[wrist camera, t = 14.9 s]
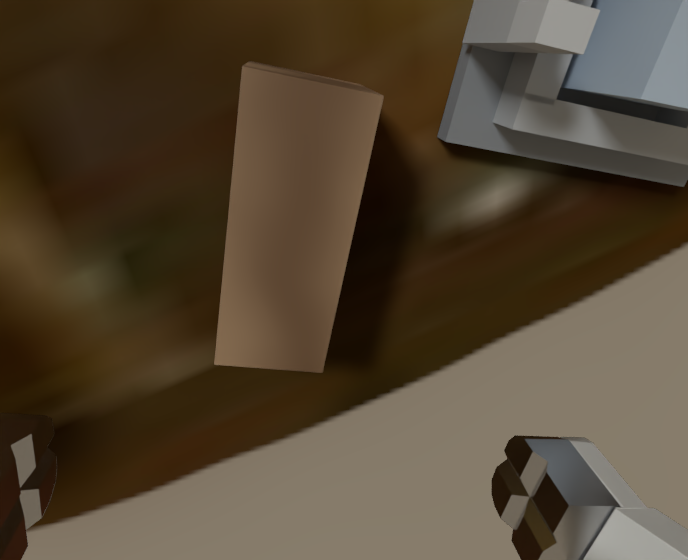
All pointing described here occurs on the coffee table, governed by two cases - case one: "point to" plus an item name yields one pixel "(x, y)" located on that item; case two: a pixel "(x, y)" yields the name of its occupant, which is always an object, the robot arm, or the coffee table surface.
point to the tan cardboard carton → (291, 214)
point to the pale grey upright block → (636, 53)
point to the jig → (553, 97)
